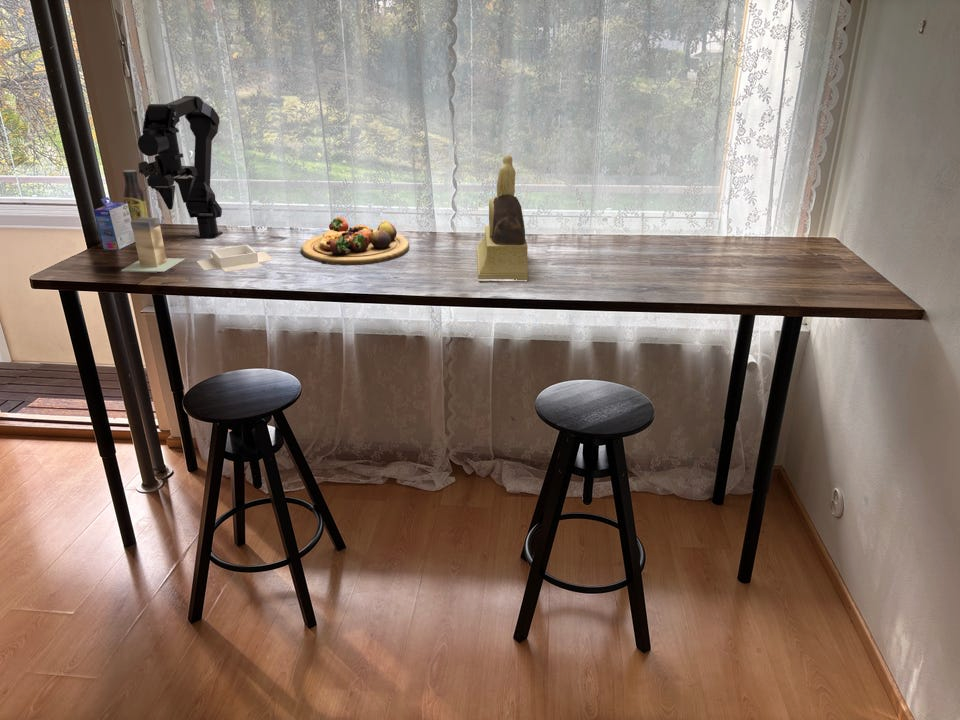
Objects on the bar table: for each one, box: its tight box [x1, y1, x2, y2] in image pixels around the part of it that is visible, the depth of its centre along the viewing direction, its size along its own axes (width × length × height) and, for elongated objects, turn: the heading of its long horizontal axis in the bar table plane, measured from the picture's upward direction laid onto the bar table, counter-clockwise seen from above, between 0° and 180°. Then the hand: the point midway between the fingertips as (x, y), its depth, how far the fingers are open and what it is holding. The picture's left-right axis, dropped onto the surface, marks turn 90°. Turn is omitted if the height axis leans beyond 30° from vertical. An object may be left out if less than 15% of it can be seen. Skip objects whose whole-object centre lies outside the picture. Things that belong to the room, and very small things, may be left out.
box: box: [131, 216, 167, 267], centre depth 193 cm, size 5×5×12 cm
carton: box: [196, 244, 275, 273], centre depth 199 cm, size 19×19×3 cm
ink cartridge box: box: [93, 196, 135, 251], centre depth 212 cm, size 10×6×14 cm, turn 174°
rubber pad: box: [121, 257, 185, 273], centre depth 196 cm, size 12×12×1 cm
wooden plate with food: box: [300, 216, 410, 266], centre depth 210 cm, size 32×32×8 cm
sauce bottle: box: [122, 169, 149, 221], centre depth 225 cm, size 6×6×20 cm
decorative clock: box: [476, 154, 529, 280], centre depth 190 cm, size 28×13×30 cm, turn 1°
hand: (178, 205), depth 206 cm, fingers open, 9 cm apart
